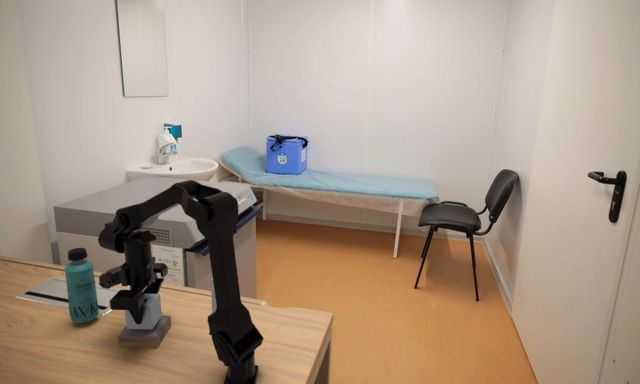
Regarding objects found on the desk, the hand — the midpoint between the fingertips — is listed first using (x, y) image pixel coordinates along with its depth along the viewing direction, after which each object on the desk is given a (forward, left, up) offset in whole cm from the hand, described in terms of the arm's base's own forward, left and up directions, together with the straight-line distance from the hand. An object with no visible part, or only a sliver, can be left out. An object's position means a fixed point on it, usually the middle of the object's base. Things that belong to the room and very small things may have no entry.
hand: (144, 316), depth 96 cm
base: (0, 0, -6) cm, 6 cm away
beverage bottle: (+6, +18, -6) cm, 20 cm away
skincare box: (+10, -17, -6) cm, 20 cm away
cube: (0, 0, -2) cm, 2 cm away
